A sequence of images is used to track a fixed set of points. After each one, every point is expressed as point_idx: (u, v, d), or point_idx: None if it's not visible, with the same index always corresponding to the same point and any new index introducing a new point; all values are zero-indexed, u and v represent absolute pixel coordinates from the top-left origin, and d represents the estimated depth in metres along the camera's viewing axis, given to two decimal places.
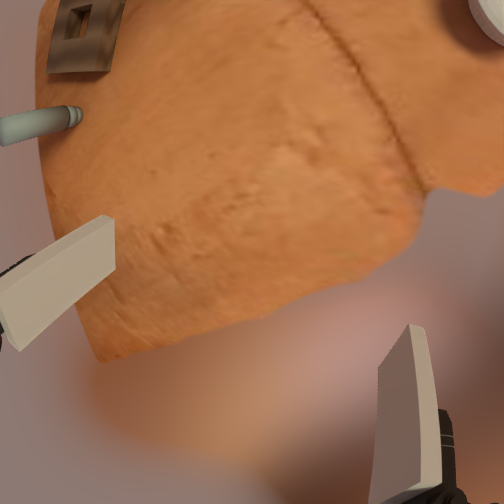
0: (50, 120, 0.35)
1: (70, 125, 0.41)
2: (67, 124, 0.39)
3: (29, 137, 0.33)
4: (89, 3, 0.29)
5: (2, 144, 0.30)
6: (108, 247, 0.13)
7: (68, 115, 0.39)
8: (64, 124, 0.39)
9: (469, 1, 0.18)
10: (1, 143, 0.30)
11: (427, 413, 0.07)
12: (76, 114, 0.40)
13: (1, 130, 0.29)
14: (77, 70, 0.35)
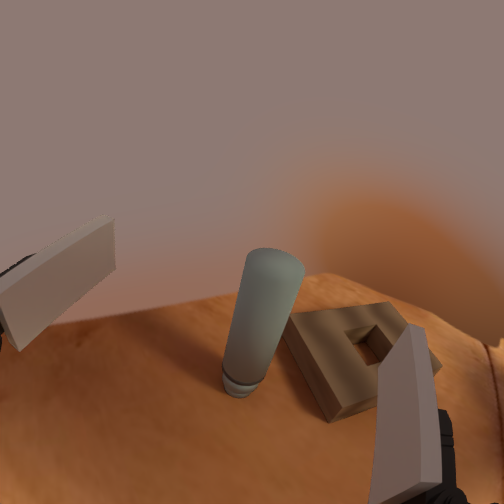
0: (265, 357, 0.25)
1: (233, 384, 0.27)
2: (241, 382, 0.26)
3: (247, 322, 0.23)
4: None
5: (251, 264, 0.22)
6: (108, 247, 0.13)
7: (257, 381, 0.27)
8: (244, 378, 0.26)
9: None
10: (251, 261, 0.22)
11: (427, 413, 0.07)
12: (250, 391, 0.28)
13: (276, 261, 0.23)
14: (325, 374, 0.30)
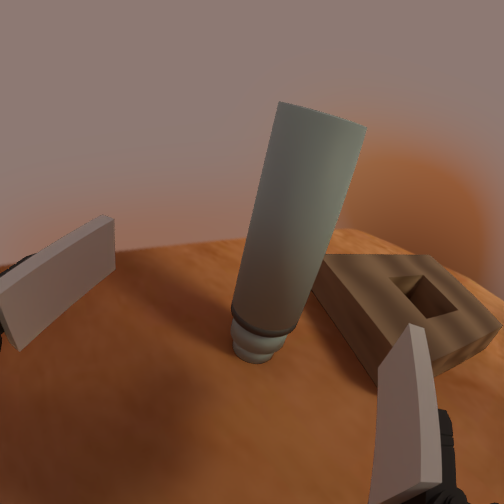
0: (304, 278, 0.16)
1: (248, 337, 0.18)
2: (263, 331, 0.17)
3: (279, 205, 0.14)
4: (453, 304, 0.25)
5: (288, 104, 0.13)
6: (108, 247, 0.13)
7: (287, 329, 0.18)
8: (268, 322, 0.17)
9: None
10: None
11: (427, 413, 0.07)
12: (274, 349, 0.19)
13: (323, 113, 0.14)
14: (378, 326, 0.20)
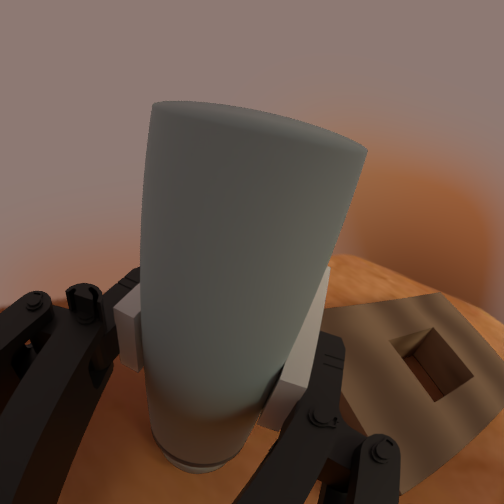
0: (236, 425, 0.08)
1: None
2: (189, 463, 0.10)
3: (163, 333, 0.06)
4: (468, 368, 0.18)
5: (168, 106, 0.05)
6: None
7: (226, 459, 0.10)
8: (192, 458, 0.10)
9: None
10: (173, 104, 0.05)
11: (305, 326, 0.09)
12: (215, 468, 0.12)
13: (265, 117, 0.06)
14: (367, 430, 0.13)
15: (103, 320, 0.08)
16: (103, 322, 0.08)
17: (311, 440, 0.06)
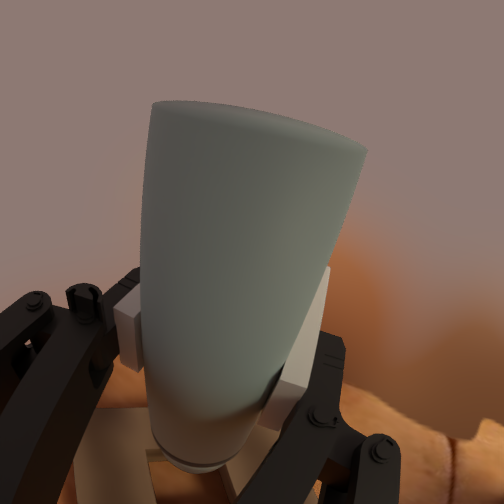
0: (236, 424, 0.08)
1: None
2: (189, 462, 0.10)
3: (163, 333, 0.06)
4: None
5: (168, 105, 0.05)
6: None
7: (226, 459, 0.10)
8: (192, 457, 0.10)
9: None
10: (173, 104, 0.05)
11: (305, 326, 0.09)
12: (215, 468, 0.12)
13: (264, 117, 0.06)
14: None
15: (103, 320, 0.08)
16: (103, 322, 0.08)
17: (311, 440, 0.06)
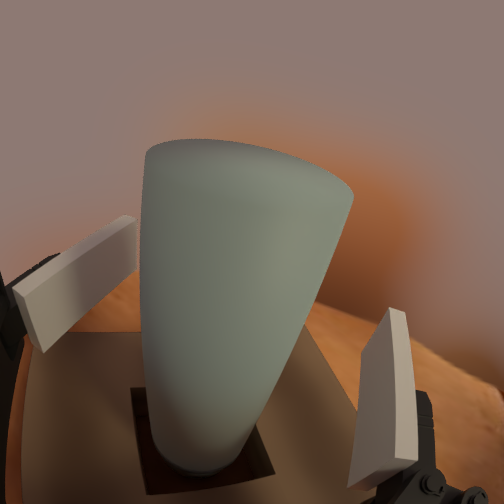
0: (231, 438, 0.09)
1: None
2: (188, 469, 0.10)
3: (163, 362, 0.07)
4: (272, 457, 0.12)
5: (161, 156, 0.06)
6: (131, 247, 0.13)
7: (223, 467, 0.11)
8: (191, 465, 0.10)
9: None
10: (166, 152, 0.06)
11: (403, 391, 0.07)
12: (213, 474, 0.12)
13: (255, 160, 0.07)
14: (25, 480, 0.07)
15: (5, 294, 0.07)
16: (5, 296, 0.07)
17: None
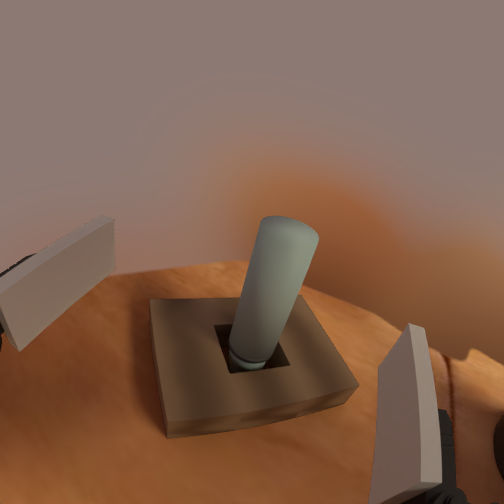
0: (275, 330, 0.24)
1: (240, 362, 0.27)
2: (249, 359, 0.26)
3: (259, 290, 0.23)
4: (288, 357, 0.28)
5: (266, 228, 0.21)
6: (108, 247, 0.13)
7: (265, 358, 0.27)
8: (252, 355, 0.26)
9: None
10: (266, 225, 0.22)
11: (427, 413, 0.07)
12: None
13: (290, 227, 0.22)
14: (161, 375, 0.23)
15: None
16: None
17: None
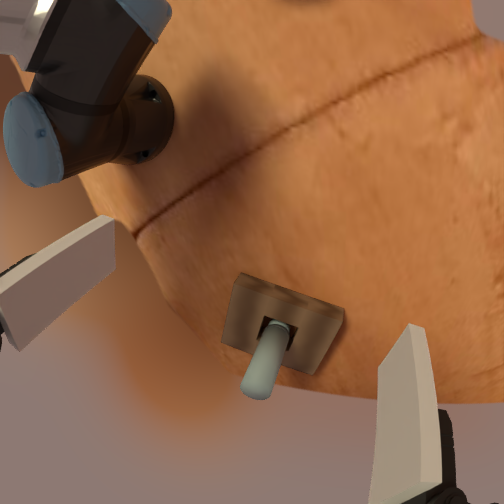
0: (271, 342, 0.45)
1: (287, 328, 0.50)
2: (284, 329, 0.48)
3: (277, 366, 0.42)
4: (261, 318, 0.49)
5: (268, 395, 0.39)
6: (108, 247, 0.13)
7: (275, 325, 0.48)
8: (283, 331, 0.48)
9: None
10: (266, 396, 0.39)
11: (427, 413, 0.07)
12: None
13: (253, 391, 0.39)
14: (331, 340, 0.47)
15: None
16: None
17: None
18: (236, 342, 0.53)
